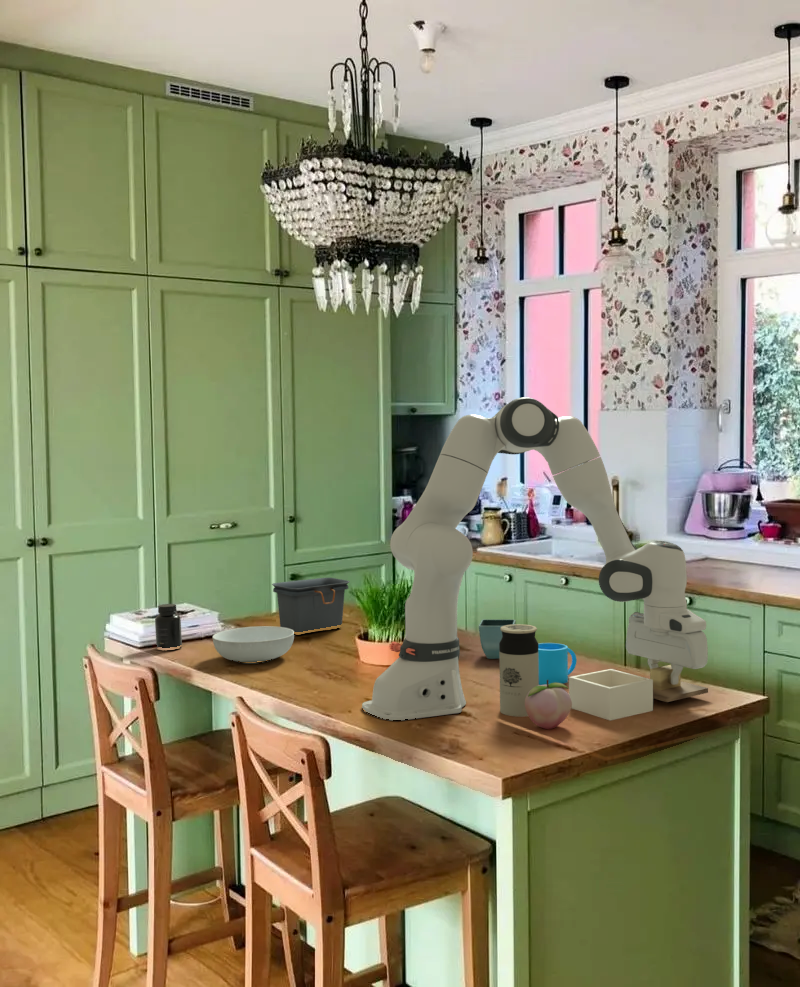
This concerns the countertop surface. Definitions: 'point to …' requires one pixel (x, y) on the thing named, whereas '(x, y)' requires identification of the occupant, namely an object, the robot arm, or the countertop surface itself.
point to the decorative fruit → (548, 705)
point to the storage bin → (311, 603)
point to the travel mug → (517, 667)
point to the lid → (672, 686)
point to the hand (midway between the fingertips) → (665, 681)
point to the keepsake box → (611, 694)
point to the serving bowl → (253, 643)
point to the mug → (554, 663)
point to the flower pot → (492, 635)
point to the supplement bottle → (168, 627)
